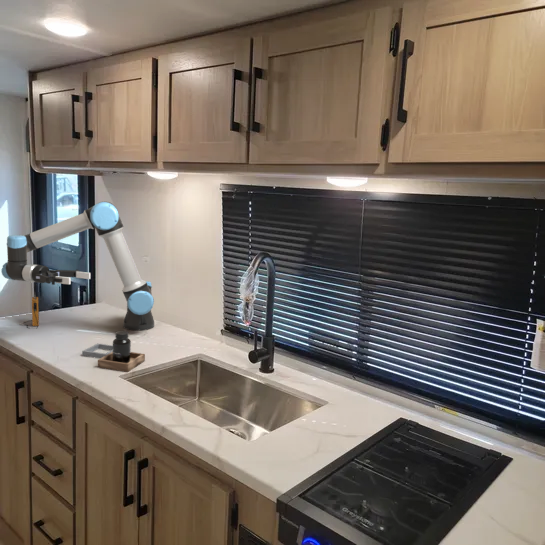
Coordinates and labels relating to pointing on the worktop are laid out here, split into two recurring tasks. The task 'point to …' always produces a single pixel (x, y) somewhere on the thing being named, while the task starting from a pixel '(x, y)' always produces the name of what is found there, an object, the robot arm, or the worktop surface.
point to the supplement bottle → (121, 347)
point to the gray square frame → (90, 353)
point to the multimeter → (34, 310)
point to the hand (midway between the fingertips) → (80, 278)
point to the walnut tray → (126, 367)
